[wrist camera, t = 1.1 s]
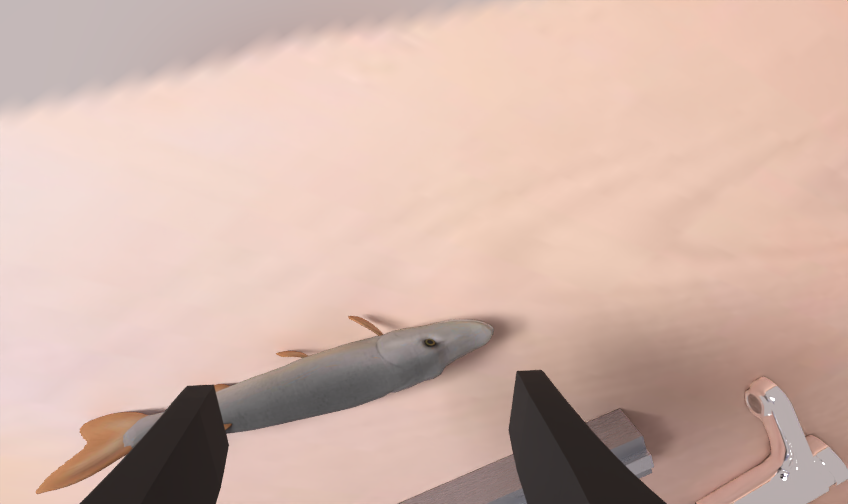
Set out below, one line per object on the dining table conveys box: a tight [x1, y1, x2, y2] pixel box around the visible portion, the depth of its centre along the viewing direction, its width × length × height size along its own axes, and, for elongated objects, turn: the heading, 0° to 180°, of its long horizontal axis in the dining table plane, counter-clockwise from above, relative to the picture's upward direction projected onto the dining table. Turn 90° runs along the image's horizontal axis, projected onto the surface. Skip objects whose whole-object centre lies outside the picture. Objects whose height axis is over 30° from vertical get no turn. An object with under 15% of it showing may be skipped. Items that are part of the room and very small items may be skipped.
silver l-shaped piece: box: [695, 377, 848, 504], centre depth 34 cm, size 10×4×9 cm
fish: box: [36, 316, 494, 494], centre depth 25 cm, size 4×21×5 cm, turn 103°
